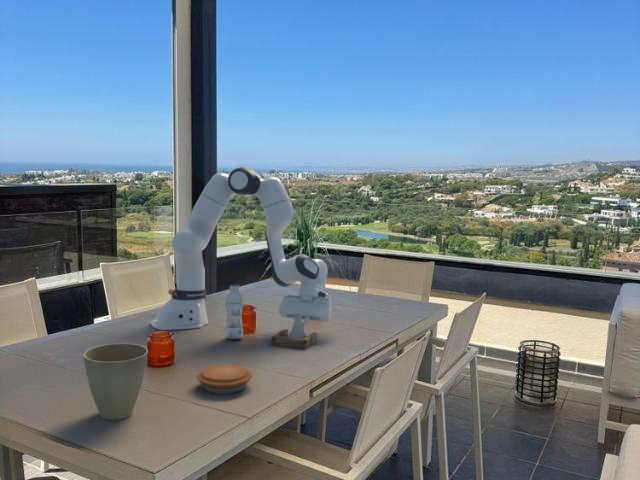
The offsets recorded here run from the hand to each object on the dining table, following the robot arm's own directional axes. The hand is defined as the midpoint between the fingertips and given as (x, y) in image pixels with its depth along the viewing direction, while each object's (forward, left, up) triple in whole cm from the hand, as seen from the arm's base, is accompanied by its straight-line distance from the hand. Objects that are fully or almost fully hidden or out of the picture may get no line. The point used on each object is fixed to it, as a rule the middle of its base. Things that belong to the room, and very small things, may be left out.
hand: (299, 327), depth 215 cm
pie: (-44, -32, -5) cm, 55 cm away
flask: (-2, -2, -5) cm, 5 cm away
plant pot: (-75, -37, -5) cm, 84 cm away
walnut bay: (-3, -2, -4) cm, 6 cm away
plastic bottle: (-21, +12, -5) cm, 25 cm away
